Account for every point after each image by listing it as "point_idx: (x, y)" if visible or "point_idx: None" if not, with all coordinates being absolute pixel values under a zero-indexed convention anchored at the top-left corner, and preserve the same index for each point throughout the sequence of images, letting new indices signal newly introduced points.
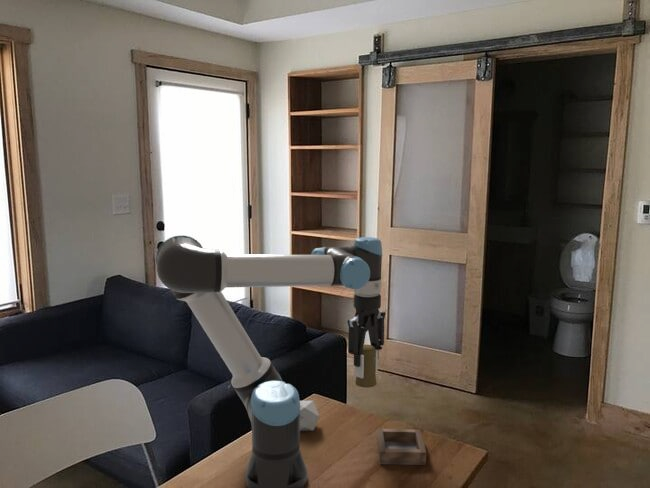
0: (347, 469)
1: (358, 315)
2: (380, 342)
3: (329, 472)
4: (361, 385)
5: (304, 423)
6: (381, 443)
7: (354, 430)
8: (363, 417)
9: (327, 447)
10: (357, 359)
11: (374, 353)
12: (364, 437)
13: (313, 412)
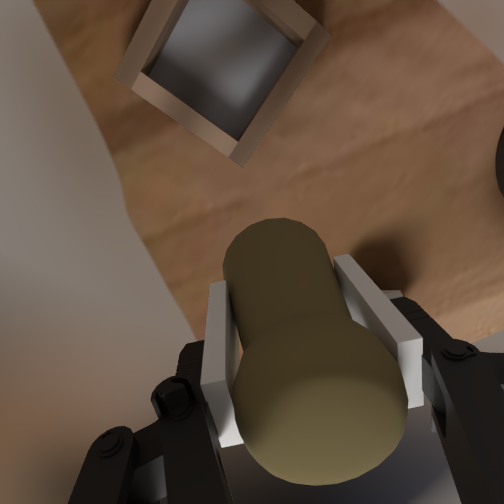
0: (410, 77)
1: None
2: (134, 463)
3: (456, 94)
4: (325, 247)
5: (401, 296)
6: (292, 78)
7: None
8: (197, 285)
9: (376, 204)
10: (443, 330)
11: (288, 333)
12: (262, 195)
13: None
